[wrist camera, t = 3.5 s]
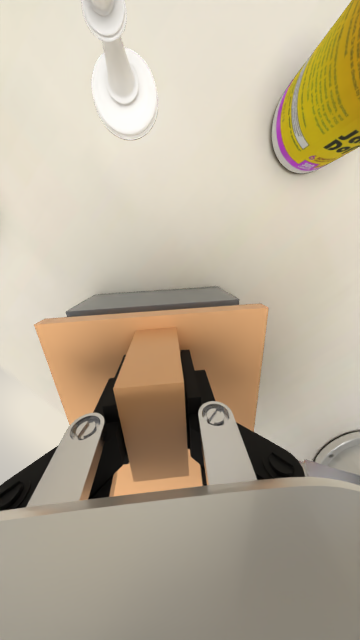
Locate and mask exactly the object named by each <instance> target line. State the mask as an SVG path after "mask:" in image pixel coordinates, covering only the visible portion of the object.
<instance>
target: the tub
mask: <svg viewBox="0 0 360 640" xmlns="http://www.w3.org/2000/svg"><path fill="white" fill-rule="evenodd" d="M232 305H239V299H238V298H236V297H235V296H233V295H231V294H229V293H228V292H226V291H224V290H223V289H221V288H219V287H203V288H188V289H173V290H158V291H143V292H128V293H113V294H98V295H94V296H92V297H90V298H88V299H87V300H85V301H83V302H81V303H80V304H78V305H76V306H74V307H73V308H71V309H69V310H68V311H66V315H67V317H77V316H91V315H105V314H119V313H134V312H148V311H162V310H176V309H190V308H204V307H218V306H232Z"/></svg>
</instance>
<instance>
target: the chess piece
mask: <svg viewBox="0 0 360 640" xmlns="http://www.w3.org/2000/svg"><path fill="white" fill-rule="evenodd" d="M81 3H82V11H83V16H84V19H85V22H86V24H87V26H88V28H89V29H90V31H91V32H92V33H93V35H94V36H95V37H97V38H98V39H99V40H101V41H102V43H103V49H104V53H102V55H101V56H100V57H99V58H98V60H97V62H96V64H95V66H94V69H93V73H92V81H91V87H92V95H93V100H94V103H95V107H96V110H97V113H98V115H99V117H100V119H101V121H102V122H103V124H104V125H105V126H106V128H107V129H108V130H109V131H110V132H112V133H113V134H114V135H116V136H118V137H120V138H122V139H126V140H135V139H139V138H141V137H143V136H144V135H146V134H147V133H148V132H149V131H150V129H151V128H152V126H153V124H154V122H155V120H156V117H157V112H158V93H157V89H156V84H155V80H154V77H153V74H152V72H151V70H150V68H149V66H148V65H147V63H146V62H145V61H144V59H143V58H142V57H141V56H140V55H139V54H137V53H136V52H135V51H133V50H131V49H129V48H126V47H124V45H123V42H122V38H121V35H122V34H123V32H124V30H125V26H126V20H127V12H126V5H125V1H124V0H81Z"/></svg>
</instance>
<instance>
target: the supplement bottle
mask: <svg viewBox="0 0 360 640" xmlns="http://www.w3.org/2000/svg"><path fill="white" fill-rule="evenodd" d="M272 143H273V148H274V151H275V153H276V156H277V158H278V160H279V161H280V163H281V164H282V165H283V166H284V167H285V168H287V169H288V170H290V171H292V172H295V173H309V172H313V171H315V170H318V169H319V168H321V167H323V166H325V165H327V164H329V163H331V162H333V161H334V160H336V159H338V158H340V157H342V156H344V155H345V154H347V153H349V152H351V151H353V150H354V149H356V148H358V147H360V0H352V1H351V2H350V4H349V5H348V6H347V8H346V9H345V10H344V12H343V13H342V15H341V16H340V17H339V19H338V20H337V21H336V23H335V24H334V25H333V27H332V28H331V29H330V31H329V32H328V33H327V35H326V36H325V37H324V39H323V40H322V41H321V43H320V44H319V45H318V47H317V48H316V49H315V51H314V52H313V53H312V55H311V56H310V57H309V59H308V60H307V61H306V63H305V64H304V65H303V67H302V68H301V69H300V71H299V72H298V74H297V75H296V76H295V78H294V79H293V80H292V82H291V83H290V85H289V86H288V88H287V89H286V90H285V92H284V94H283V95H282V97H281V99H280V101H279V103H278V106H277V108H276V111H275V115H274V119H273V125H272Z"/></svg>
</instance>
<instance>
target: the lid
mask: <svg viewBox="0 0 360 640" xmlns="http://www.w3.org/2000/svg"><path fill="white" fill-rule="evenodd" d="M267 316H268V307H266V306H264V305H262V304H246V305H232V306H218V307H204V308H190V309H176V310H162V311H148V312H134V313H119V314H105V315H91V316H77V317H63V318H49V319H44V320H42V321H40V322H38V323H36V324H34V326H35V329H36V331H37V334H38V337H39V340H40V343H41V346H42V348H43V351H44V354H45V357H46V360H47V362H48V365H49V368H50V371H51V374H52V377H53V379H54V382H55V385H56V388H57V391H58V393H59V396H60V399H61V402H62V405H63V408H64V410H65V413H66V416H67V419H68V422H69V424H70V425H71V424H72V423H73V422H74V421H75V420H76V419H78V418H79V417H81V416H83V415H85V414H89V413H93V412H94V410H95V407H96V405H97V403H98V401H99V399H100V397H101V395H102V392H103V390H104V388H105V386H106V384H107V382H108V380H109V379H110V378H114V377H115V375H116V373H117V370H118V368H119V366H120V363H121V361H122V359H123V356H124V355H126V357H125V360H124V362H123V365H122V367H121V370H120V372H119V375H118V377H117V380H116V382H115V385H114V387H113V391H114V395H115V400H116V404H117V409H118V413H119V418H120V422H121V427H122V431H123V436H124V440H125V445H126V449H127V454H128V458H129V464H124V465H123V466H122V467H121V468H120V469H119V470H118V471H117V480H116V485H115V491H114V496H122V495H130V494H138V493H147V492H155V491H164V490H172V489H181V488H190V487H198V486H202V482H201V474H200V464H199V463H198V462H196V461H195V460H194V459H193V458H192V457H191V455H190V449H188V447H187V429H186V410H185V392H184V379H183V372H182V364H181V357H180V353H181V350H188V349H189V350H190V354H191V358H192V362H193V366H194V370H195V371H196V370H205V372H206V374H207V377H208V380H209V383H210V386H211V389H212V392H213V395H214V398H215V401H217V402H221V403H223V404H225V405H227V406H228V407H229V408H230V409H231V411H232V413H233V416H234V418H235V421H236V422H237V423H239V424H240V425H242V426H244V427H246V428H248V429H249V430H251V431H253V432H254V424H255V416H256V408H257V399H258V391H259V383H260V374H261V366H262V358H263V350H264V341H265V333H266V325H267Z"/></svg>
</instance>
